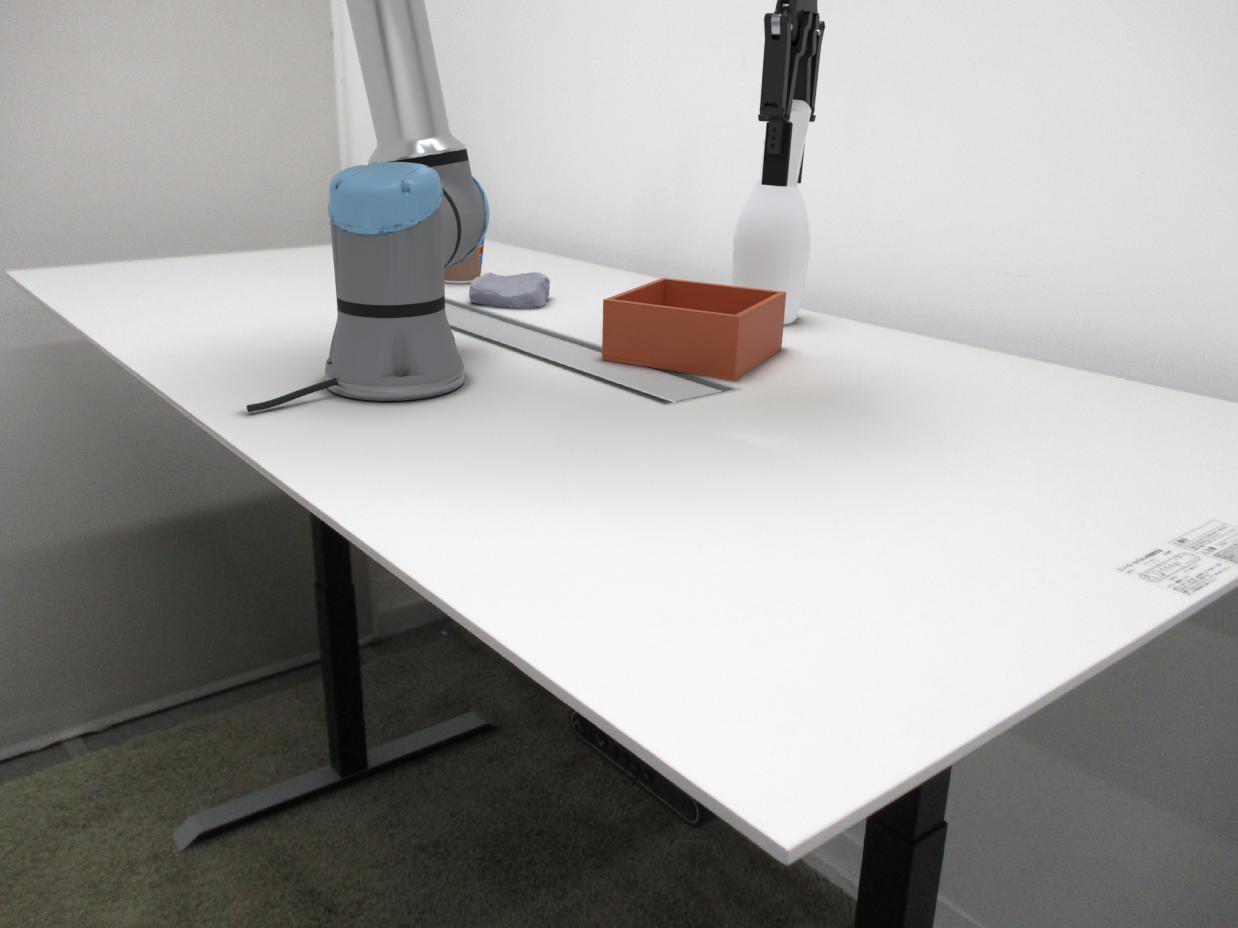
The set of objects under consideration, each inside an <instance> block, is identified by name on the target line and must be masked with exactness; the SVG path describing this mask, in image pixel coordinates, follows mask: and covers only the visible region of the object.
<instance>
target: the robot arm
mask: <svg viewBox="0 0 1238 928" xmlns="http://www.w3.org/2000/svg"><path fill="white" fill-rule="evenodd" d="M345 3H346V7H347V12H348V17H349V21H350V25H351V30H352V35H353V40H354V44H355V48H356V54H357V58H358V62H359V67H360V71H361V75H362V80H363V84H364V89H365V94H366V98H367V103H368V107H369V111H370V116H371V121H372V125H373V130H374V135H375V138H376V148H375V149H374V151H373V152H372V154H371V155H370V157H369V159H368V160H367V165H366V164H360V165H353V166H350V167H347V168H344V169H342V170H340V171H338V172H337V173H335V174H334V175H333V177H332V178H331V180H330V182H329V187H328V188H329V189H328V190H329V191H328V194H329V195H328V205H327V213H328V214H327V215H328V218H329V224H330V233H331V234H330V236H331V237H330V238H331V246H332V247H331V249H332V259H333V270H334V271H333V272H334V283H335V297H336V310H337V316H336V317H337V318H336V323H335V327H334V329H333V330H334V331H333V334H332V337H331V338H332V339H331V342H330V347H329V353H328V358H327V359H326V362H325V369H324V378H325V380H324V381H321V382H318V383H315V384H312V385H309V386H306V387H303V388H300V389H297V390H295V391H291V392H289V393H287V394H283V395H282V396H278V397H275V398H273V399H269V400H266V401H261V402H256V403H250V404H247V405H246V410H247V413H253V412H258V411H263V410H267V409H271V408H275V407H278V406H280V405H284V404H287V403H289V402H291V401H294V400H296V399H299V398H302V397H304V396H307V395H310V394H314V393H317V392H319V391H323V390H326V389H328V390H329V391H330V392H332V393H334V394H337V395H340V396H342V397H345V398H351V399H356V400H364V401H377V402H378V401H379V402H395V401H397V402H399V401H412V400H419V399H420V400H421V399H426V398H430V397H431V398H432V397H436V396H440V395H444V394H447V393H450V392H452V391H454V390H456V389H458V388H459V387H460V386H462V385H463V383H464V382H465V366H464V362H463V358H462V356H461V355H460V353H459V350H458V347H457V343H456V339H455V336H454V333H453V331H452V329H451V326H450V325H451V324H450V323H449V320H448V317H447V311H446V296H445V295H446V291H445V282H444V269H445V268H447V267H451V266H454V265H456V264H458V263H460V262H462V261H464V260H465V259H466V258H467V257H469V256H470V255H471V254H472V253H473V252H474V250H475V249H476V248H477V247H478V246H479V245H480V243H481V242H482V240H483V238H484V239H485V237H486V234H487V231H488V228H489V223H490V204H489V199H488V197H487V193H486V192H485V190H484V188H483V186H482V185H481V184H480V182H479V180H477V178H475V176H473V174H472V170H471V164H470V159H469V154H468V149H467V146H466V144H465V143H463V142H462V141H461V140H459V139H458V138H457V137H455V136H454V135H453V134H452V133H451V132H452V131H451V130H450V129H451V128H450V123H449V119H448V113H447V108H446V104H445V103H446V102H445V97H444V93H443V89H442V88H443V87H442V84H441V77H440V73H439V68H438V64H437V58H436V52H435V48H434V42H433V38H432V37H433V36H432V33H431V27H430V22H429V17H428V12H427V8H426V6H427V5H426V1H425V0H345ZM763 17H764V18H763V26H764V28H763V29H764V44H763V45H764V46H763V58H762V72H761V73H762V74H761V85H760V99H759V100H760V101H759V113H758V114H757V120H758V122H765V123H766V124H765V125H766V126H765V137H764V139H765V147H764V146H763V150H764V159H763V171H762V183H761V185H771V186H784V187H785V186H787V182H788V171H789V160H790V149H791V138H792V127H793V123H788V122H789V120H790V114H791V108H792V101H793V100H802V101H805V102H806V103H807V104H808V105H809V107H810V108H811V115H810V120H809V123H814V122H815V121H816V117H817V114H815V111H816V100H817V89H818V81H819V71H820V63H821V51H822V43H823V39H824V34H825V29H826V24H825V23H826V22H825V20H820V19H821V17H820V13H819V12H818V0H776V4H775V10H774V11H773V12H766V13H765V14H764V16H763ZM805 145H806V143H805V144H804V148H805ZM804 157H805V149H804V150H803V155H802V161H801V166H800V172H799V177H798V183H797V184H802V179H803V178H802V177H803V168H804ZM484 236H485V237H484Z"/></svg>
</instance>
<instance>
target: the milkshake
mask: <svg viewBox="0 0 1238 928" xmlns="http://www.w3.org/2000/svg"><path fill="white" fill-rule="evenodd" d="M810 115H811V108H810V107H809V105H808V104H807V103H806V102H805V101H802V100H793V101H792V108H791V114H790V120H789V122H788V123H793V127H792V138H791V149H790V160H789V171H788V182H787V186H785V187H796V186H797V187H798V184H799V183H798V177H799V172H800V166H801V161H802V155H803V150H804V151H805V147H804V144H805V145H806V139H807V134H808V128H809V124H810V122H809V120H810ZM778 187H784V186H778Z"/></svg>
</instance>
